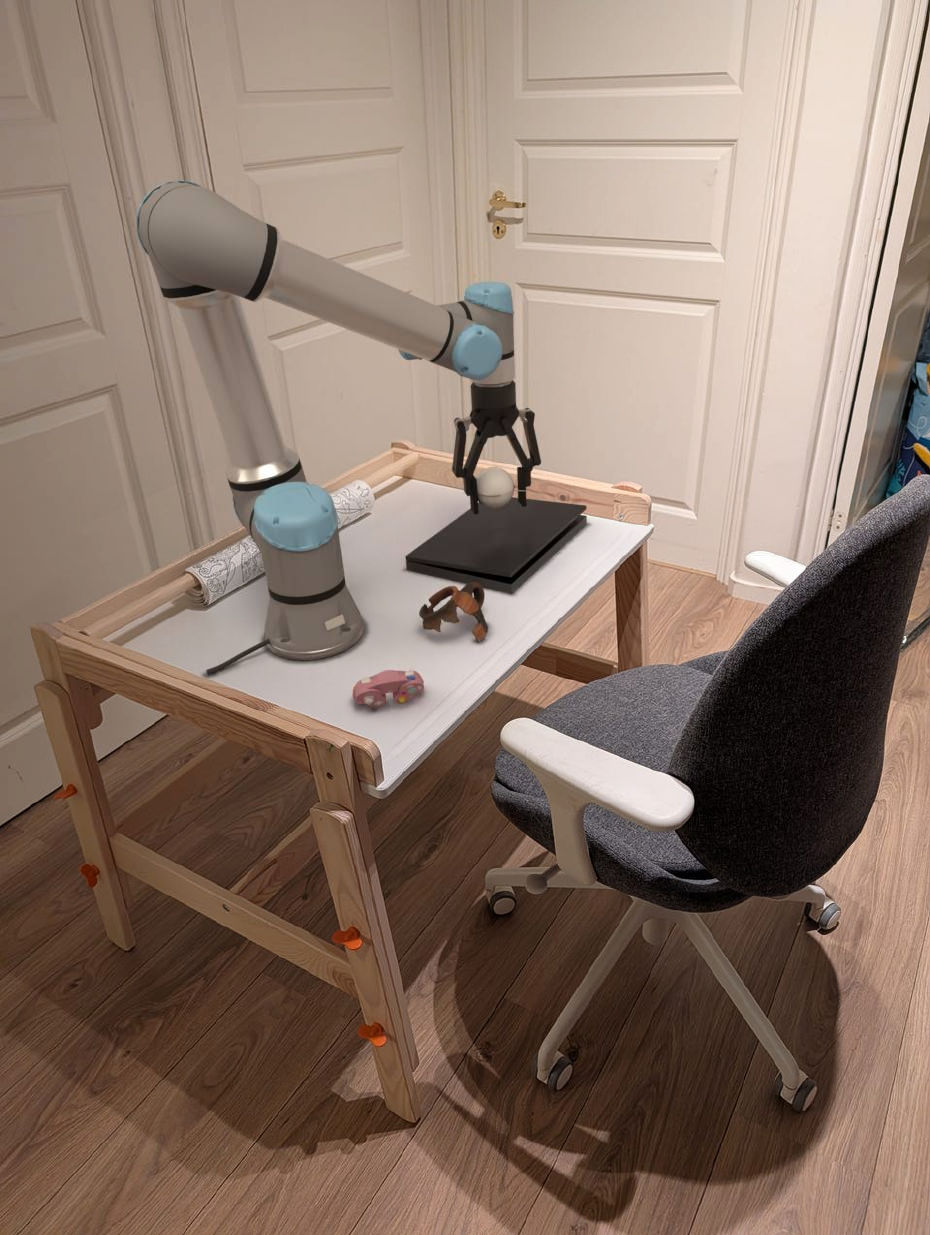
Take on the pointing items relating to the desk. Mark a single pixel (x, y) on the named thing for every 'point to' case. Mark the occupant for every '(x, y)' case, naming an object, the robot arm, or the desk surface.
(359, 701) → the video game controller
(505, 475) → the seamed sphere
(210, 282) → the robot arm
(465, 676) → the desk surface
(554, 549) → the laptop
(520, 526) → the laptop screen
